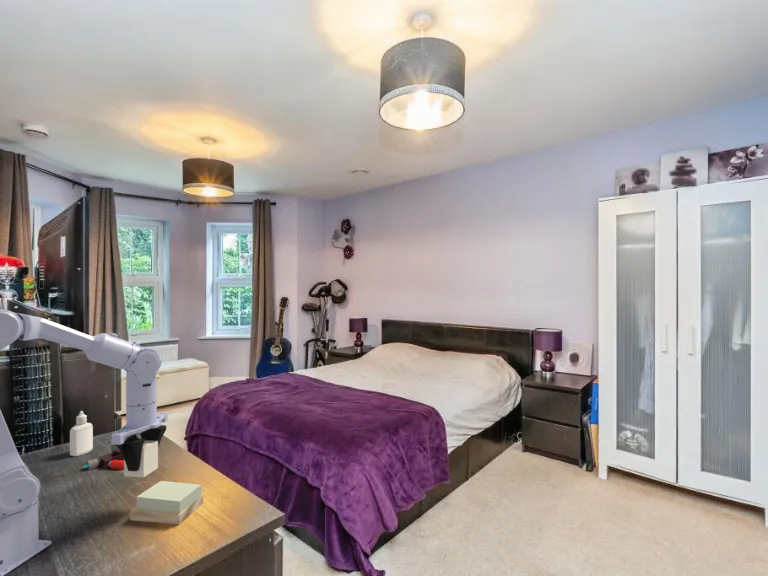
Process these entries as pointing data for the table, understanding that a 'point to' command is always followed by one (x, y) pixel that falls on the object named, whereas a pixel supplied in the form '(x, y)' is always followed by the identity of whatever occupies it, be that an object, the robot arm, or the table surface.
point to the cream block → (145, 460)
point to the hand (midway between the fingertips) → (141, 465)
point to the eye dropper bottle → (81, 436)
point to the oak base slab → (164, 514)
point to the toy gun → (108, 460)
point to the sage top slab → (169, 497)
